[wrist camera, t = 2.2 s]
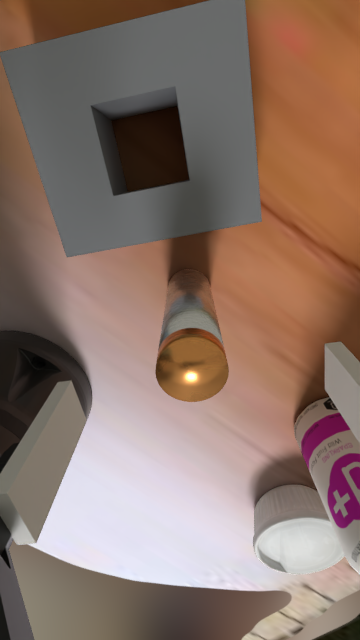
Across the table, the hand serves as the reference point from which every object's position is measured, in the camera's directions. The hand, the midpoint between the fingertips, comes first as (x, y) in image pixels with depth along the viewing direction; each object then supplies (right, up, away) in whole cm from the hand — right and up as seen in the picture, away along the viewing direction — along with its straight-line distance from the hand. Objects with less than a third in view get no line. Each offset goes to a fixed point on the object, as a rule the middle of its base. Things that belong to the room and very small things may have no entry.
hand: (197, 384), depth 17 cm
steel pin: (0, +6, +14) cm, 15 cm away
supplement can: (+16, -8, +20) cm, 27 cm away
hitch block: (-3, +17, +9) cm, 19 cm away
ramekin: (+14, -22, +26) cm, 37 cm away
